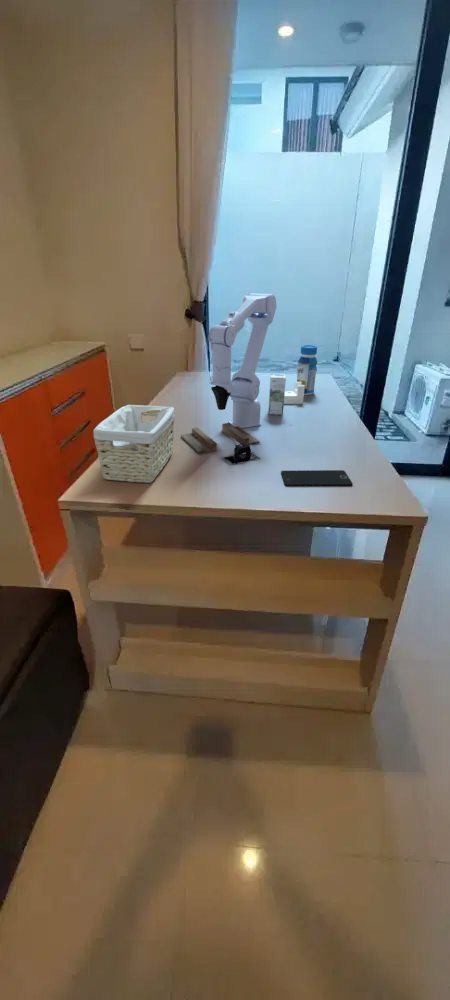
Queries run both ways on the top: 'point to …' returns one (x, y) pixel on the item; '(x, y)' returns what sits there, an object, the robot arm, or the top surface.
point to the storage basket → (135, 443)
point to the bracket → (295, 395)
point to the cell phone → (316, 478)
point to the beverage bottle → (307, 368)
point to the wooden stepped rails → (206, 444)
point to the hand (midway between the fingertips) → (221, 409)
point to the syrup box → (276, 394)
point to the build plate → (241, 457)
